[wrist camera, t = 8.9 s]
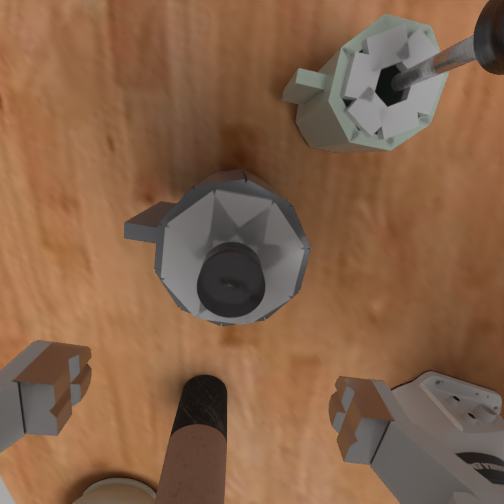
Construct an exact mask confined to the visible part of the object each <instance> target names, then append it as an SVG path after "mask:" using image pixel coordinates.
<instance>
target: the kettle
mask: <svg viewBox="0 0 504 504" xmlns="http://www.w3.org/2000/svg"><path fill="white" fill-rule="evenodd" d="M155 499H156V493H155V492H154V491H153V490H152V489H151V488H150V487H149V486H147V485H146V484H144V483H142V482H140V481H137V480H134V479H129V478H108V479H104V480H101V481H98V482H96V483H94V484H93V485H91V486H90V487H89V488H88V489H87V490H86V491H85V492H84V494H83V495H82V497H80V498H79V499H77V500H76V501H74V502H73V503H72V504H154V503H155Z"/></svg>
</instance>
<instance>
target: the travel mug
mask: <svg viewBox="0 0 504 504" xmlns="http://www.w3.org/2000/svg"><path fill="white" fill-rule="evenodd" d="M226 453H227V389H226V387H225V385H224V383H223V382H222V381H221V380H219V379H218V378H216V377H213V376H208V375H202V376H197V377H194V378H192V379H191V380H189V381H188V382H187V383H186V385H185V386H184V389H183V392H182V395H181V399H180V402H179V406H178V410H177V413H176V417H175V420H174V424H173V428H172V431H171V435H170V439H169V443H168V447H167V451H166V455H165V460H164V464H163V468H162V473H161V477H160V481H159V486H158V490H157V494H156V499H155V503H154V504H224V495H225V474H226Z"/></svg>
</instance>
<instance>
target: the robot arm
mask: <svg viewBox="0 0 504 504" xmlns="http://www.w3.org/2000/svg"><path fill="white" fill-rule="evenodd" d="M90 358H91V349H90V348H89V347H87V346H80V345H73V344H66V343H59V342H49V341H42V340H37V341H35V342H33V343H31V344H30V345H29V346H28V347H27V348H26V349H25V350H23V351H22V352H21V353H20V354H19V355H18V356H17V357H15V358H14V359H13V360H12V361H11V362H10V363H9V364H7V365H6V366H5V367H4V368H3V369H2V370H1V371H0V453H1V452H2V451H4V450H5V449H7V448H8V447H9V446H11V445H12V444H14V443H15V442H16V441H18V440H19V439H21V438H22V437H23V436H24V434H36V435H52V436H58V434H59V433H60V431H61V430H62V428H63V427H64V425H65V424H66V422H67V421H68V420H69V418H70V417H71V415H72V406H74V405H75V404H77V403H78V402H80V401H81V400H82V398H83V397H84V395H85V394H86V392H87V389H88V387H89V384H90V381H91V375H92V372H91V368H90V366H89V365H88V364H87V362H88V361H89V360H90ZM335 387H336V389H337V391H336V392H335V393H334V394H332V395H331V398H330V402H329V417H330V421H331V425H332V427H333V428H334V429H335V430H336V431H337V432H338V433H339V435H338V437H337V443H338V446H339V449H340V452H341V455H342V458H343V461H344V462H350V463H358V464H366V465H371V466H370V467H371V468H372V469H373V470H374V472H375V473H376V474H377V475H378V476H379V478H380V479H381V480H382V481H383V483H384V484H385V485H386V486H387V487H388V489H389V490H390V491H391V492H392V494H393V495H394V496H395V497H396V498H397V500H398V501H399V502H400V503H401V504H504V420H503V418H502V417H501V416H500V415H499V414H500V411H501V407H502V399H501V396H500V395H499V394H498V393H497V392H496V391H493V390H490V389H487V388H484V387H481V386H477V385H474V384H471V383H468V382H465V381H462V380H459V379H455V378H452V377H449V376H446V375H443V374H440V373H436V372H433V371H429V372H426V373H424V374H423V375H421V376H420V377H418V378H417V379H416V380H414V381H413V382H410V383H408V384H405V385H402V386H400V387H398V388H396V389H394V390H392V391H391V390H390V388H389V387H388V385H387V384H386V383H385V382H384V381H383V380H373V379H361V378H352V377H342V376H339V378H338V379H337V381H336V383H335Z"/></svg>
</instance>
